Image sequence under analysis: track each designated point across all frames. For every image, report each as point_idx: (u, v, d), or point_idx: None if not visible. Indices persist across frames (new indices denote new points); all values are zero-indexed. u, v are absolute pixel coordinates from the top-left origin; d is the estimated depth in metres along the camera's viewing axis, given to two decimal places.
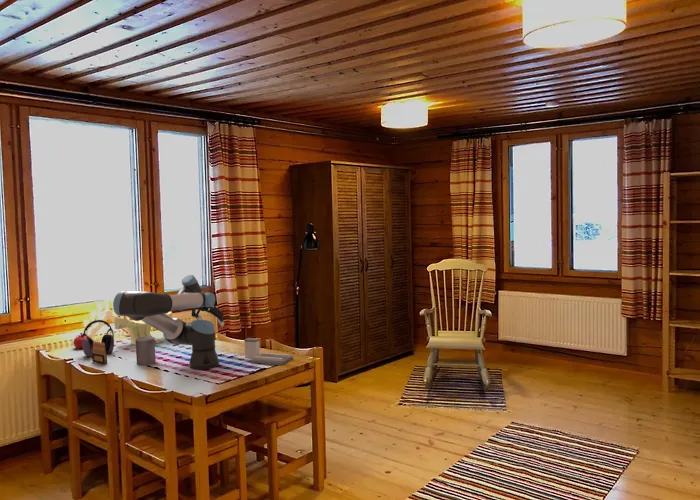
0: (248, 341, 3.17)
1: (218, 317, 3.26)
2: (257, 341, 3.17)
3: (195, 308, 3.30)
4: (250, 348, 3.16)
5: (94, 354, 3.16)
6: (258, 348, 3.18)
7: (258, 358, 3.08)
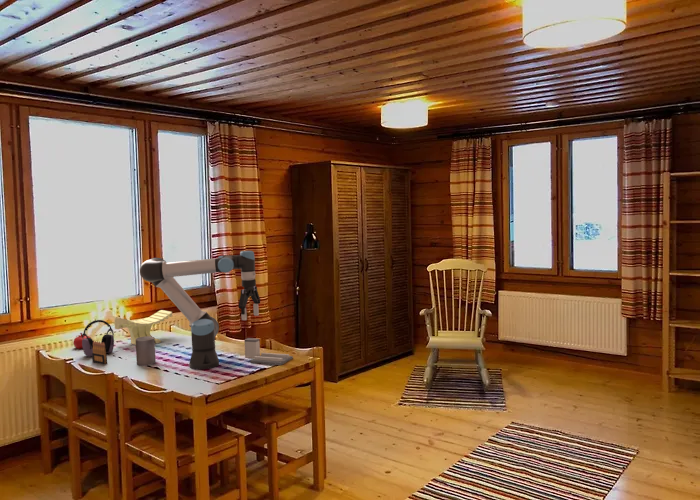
0: (248, 341, 3.17)
1: None
2: (257, 341, 3.17)
3: (256, 294, 3.23)
4: (250, 348, 3.16)
5: (94, 354, 3.16)
6: (258, 348, 3.18)
7: (258, 358, 3.08)
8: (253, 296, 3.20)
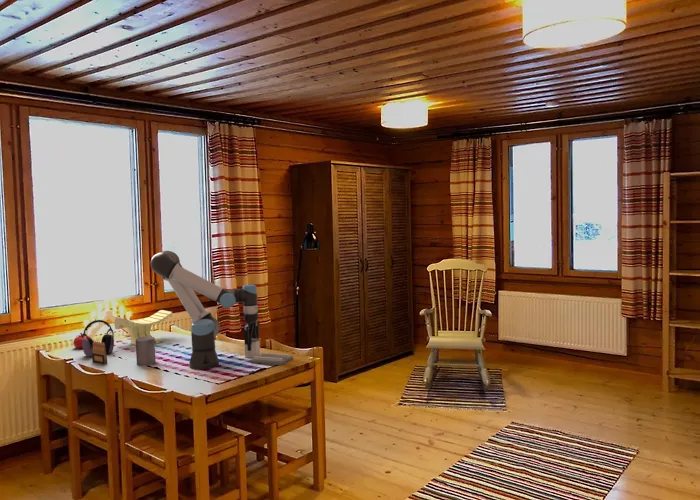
0: None
1: None
2: (257, 341, 3.17)
3: (257, 330, 3.22)
4: None
5: (94, 354, 3.16)
6: (258, 348, 3.18)
7: (258, 358, 3.08)
8: (253, 331, 3.19)
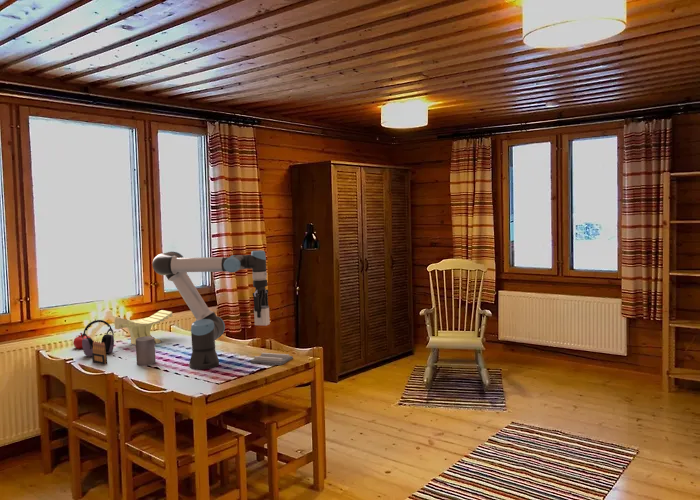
0: None
1: None
2: (267, 308, 3.11)
3: (266, 297, 3.16)
4: None
5: (94, 354, 3.16)
6: (268, 315, 3.12)
7: (258, 358, 3.08)
8: (263, 298, 3.13)
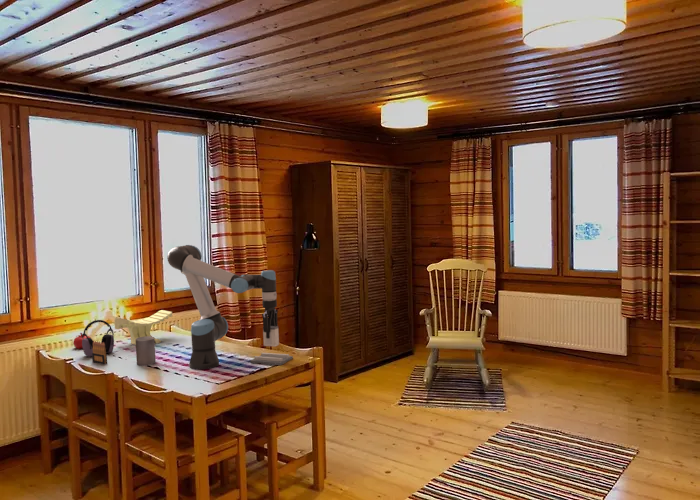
0: None
1: None
2: (276, 329, 3.07)
3: (275, 317, 3.12)
4: None
5: (94, 354, 3.16)
6: (277, 336, 3.09)
7: (258, 358, 3.08)
8: (272, 319, 3.10)
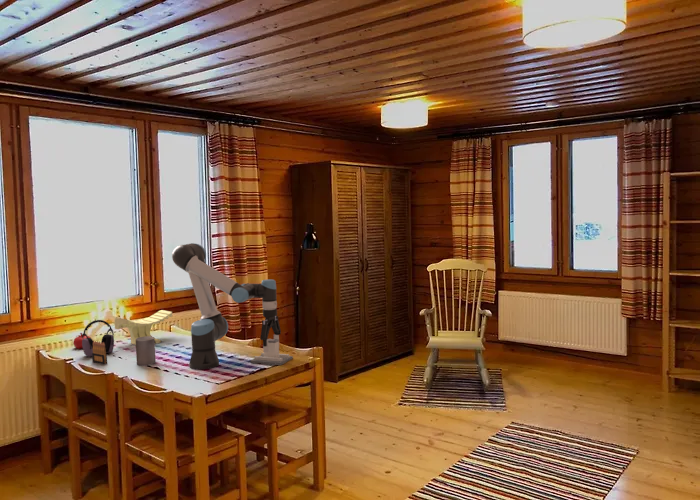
0: None
1: None
2: (276, 342, 3.08)
3: (277, 324, 3.14)
4: (269, 349, 3.08)
5: (94, 354, 3.16)
6: (277, 349, 3.09)
7: (258, 358, 3.08)
8: (274, 326, 3.12)
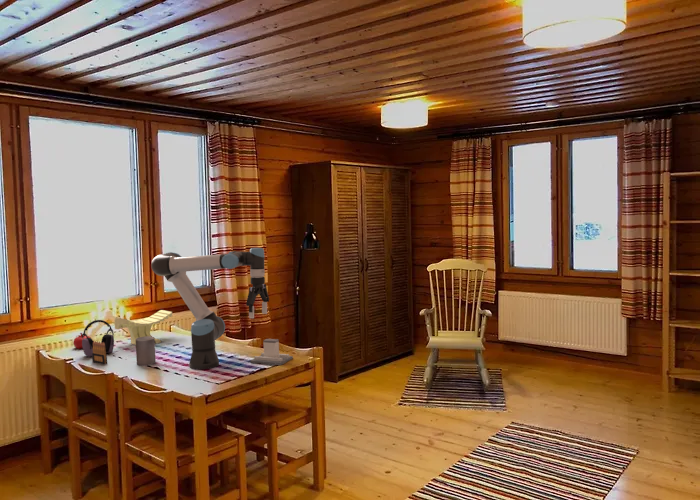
0: (267, 342, 3.08)
1: None
2: (276, 342, 3.08)
3: (265, 292, 3.17)
4: (269, 349, 3.08)
5: (94, 354, 3.16)
6: (277, 349, 3.09)
7: (258, 358, 3.08)
8: (262, 294, 3.15)
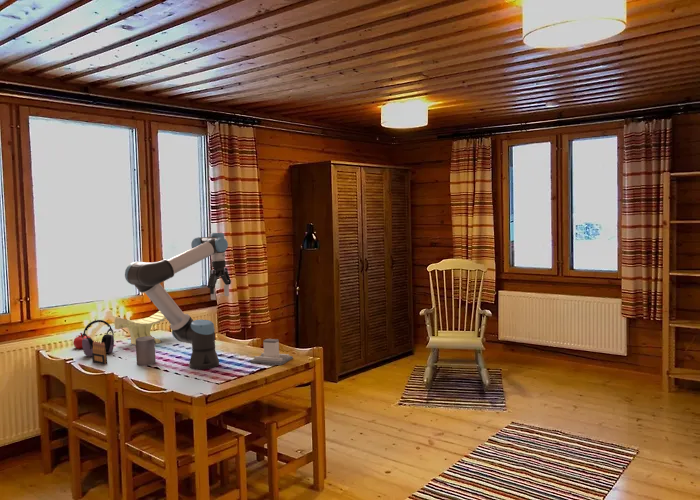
0: (267, 342, 3.08)
1: None
2: (276, 342, 3.08)
3: (227, 275, 3.32)
4: (269, 349, 3.08)
5: (94, 354, 3.16)
6: (277, 349, 3.09)
7: (258, 358, 3.08)
8: (223, 277, 3.29)
